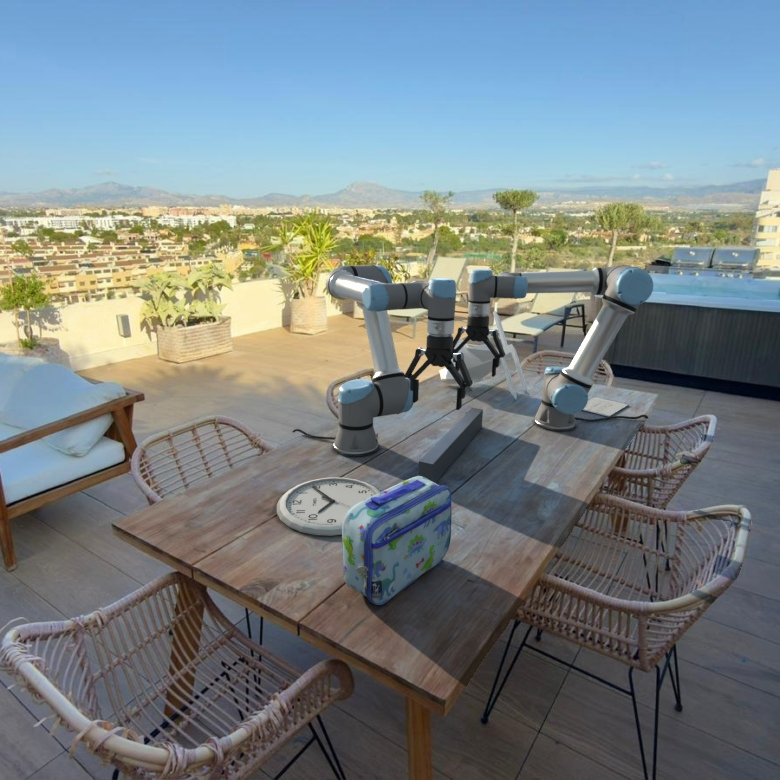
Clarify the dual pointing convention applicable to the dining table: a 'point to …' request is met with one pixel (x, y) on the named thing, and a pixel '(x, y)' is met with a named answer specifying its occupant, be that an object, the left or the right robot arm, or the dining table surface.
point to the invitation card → (603, 406)
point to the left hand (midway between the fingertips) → (436, 405)
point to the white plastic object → (487, 362)
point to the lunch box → (395, 537)
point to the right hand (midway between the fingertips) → (475, 373)
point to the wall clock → (322, 504)
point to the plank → (450, 445)
